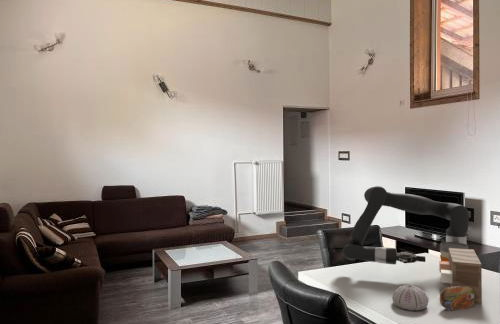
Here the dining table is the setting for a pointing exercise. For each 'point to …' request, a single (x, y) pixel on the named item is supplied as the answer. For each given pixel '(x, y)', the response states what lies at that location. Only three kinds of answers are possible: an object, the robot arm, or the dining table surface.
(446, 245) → the reusable coffee cup
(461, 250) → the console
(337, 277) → the dining table surface
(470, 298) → the tin
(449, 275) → the cream key
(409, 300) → the sea urchin shell
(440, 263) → the terracotta key
